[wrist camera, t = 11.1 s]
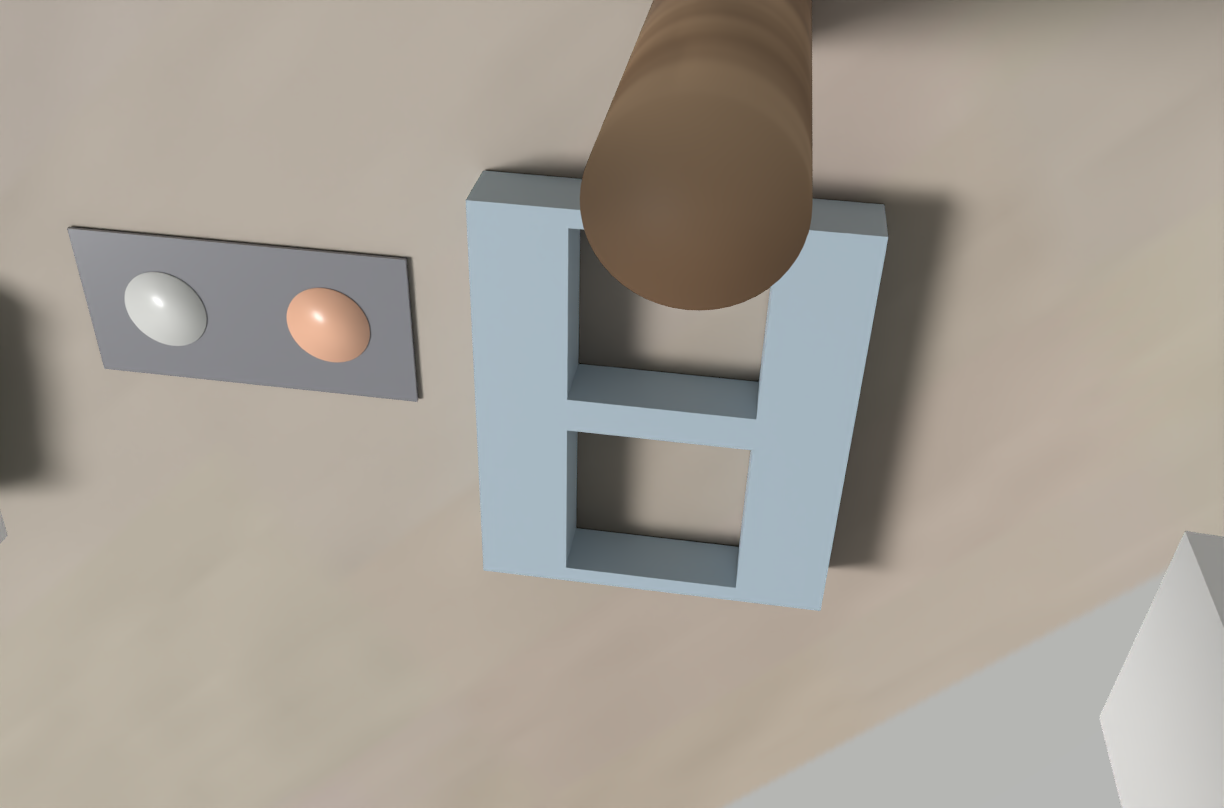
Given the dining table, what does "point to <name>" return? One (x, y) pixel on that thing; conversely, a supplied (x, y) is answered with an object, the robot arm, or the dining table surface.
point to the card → (249, 312)
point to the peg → (706, 153)
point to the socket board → (662, 403)
